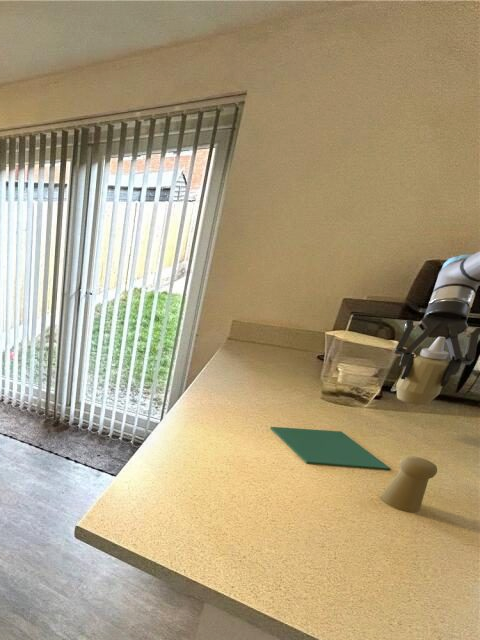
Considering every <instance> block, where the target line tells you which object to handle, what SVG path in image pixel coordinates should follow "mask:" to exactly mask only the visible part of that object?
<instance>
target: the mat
mask: <svg viewBox="0 0 480 640" xmlns="http://www.w3.org/2000/svg"><path fill="white" fill-rule="evenodd" d="M270 430H271V431H273V433H274V434H275V435H277V437H278V438H280V439H281V440H282V441H283V442H284V443H285V444H286V445H287V447H289V448H290V449H291V450H292V451H293V452H294V453H295V454H296V455H297V456H298V457H299V458H300V459H301V460H302V461H303V462H304V463H305V464H307V465H319V466H330V467H331V466H332V467H344V468H356V469H367V470H368V469H369V470H380V471H381V470H382V471H391V467H390V466H388V465H387V464H386V463H385V462H383V461H381V460H380V459H379V458H378V457H377V456H375V455H373V453H372V452H370V451H368V450H367V449H365V448H364V447H363V446H362V445H361V444H359V443H358V442H356V441H355V440H354V439H352V438H351V437H350V436H348V435H347V434H345V433H344V432H343V431H342V430H340V431H339V430H327V429H326V430H325V429H309V428H296V427H283V426H282V427H281V426H270Z"/></svg>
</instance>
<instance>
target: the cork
mask: <svg viewBox="0 0 480 640" xmlns="http://www.w3.org/2000/svg"><path fill="white" fill-rule="evenodd" d="M398 467H399V471H398V472H397V473H396V475H395V476H394V477H393V479H392V480H391V481H390V482H389V483H388V485H387V486H386V488H385V489H384V490H383V492H382V493H381V494H379V495H380V496H379V497H380V499H381V501H382V502H383V503H385V504H387V505H388V506H390V507H392V508H394V509H397V510H399V511H402V512H408V513H418V512H420V510H421V506H422V503H423V500H424V496H425V494H426V489H427V486H428V483H429V480H430V479H433V478H434V477H435V476H436V475H437V473H438V467H437V465H436V464H435V463H434V462H432V461H430V460H428V459H426V458H423V457H420V456H411V455H409V456H405V457H403V458H402V459H401V460H400V461H399V466H398Z"/></svg>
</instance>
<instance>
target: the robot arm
mask: <svg viewBox="0 0 480 640" xmlns="http://www.w3.org/2000/svg"><path fill="white" fill-rule="evenodd" d="M437 274H438V275H437V279H436V282H435V285H434V288H433V291H432V294H431V296H430V298H429V299H430V300H429V301H428V305H427V307H426V310H425V312H424V316H423V318H421V320H420V321H419V320H418V321H413V320H412V319H407V320H406V322H405V323H404V325H403V331H404V332H403V333H402V335H401V337H400V339H399V341H398V343H397V345H396V347H395V349H394V351H393V353H394V354H395V355H400V356H401V359H400V362H399V363H398V364H399V365H398V366H399V367H402V368H403V370H402V373H401V376H400V377H401V378H399V379H405V378H406V376H407V375H408V372H409V369H410V366H411V363H412V360H413V358H414V357H415V353H414V352H415V351H416V350H417V349H418V348H420V346H421V345H422V344H424V342H426V341H427V340H428V339H429V338H433V339H437V338H438V337H445V343H446V345H447V349H448V353H449V356H450V360H449V361H448V362H449V366H448V368H447V371H446V373H445V375H444V377H443V379H442V382H441V385H440V386H442V388H443V387H444V388H445V387H446V386H447V384H449V382H450V379H451V376H456V375H457V374H458V373H459V372H460V369H461V365H465V366H470V365H471V364H472V363H473V362H474V361H475V360H476V356H477V355H476V354H477V348H478V343H479V336H480V327H476V328H475V327H471V326H469V325H468V323H467V321H468V318H469V315H470V312H471V308H472V307H473V303H474V300H475V297H476V294H477V292H478V291H477V290H478V288H479V286H480V250H479V251H477V252H476V253H474V254H466V253H465V254H461V255H458V256H452V257H451V258H448V259H446V261H445V262H444V263H443V264H442V267H441V268H440V270H439V272H438V273H437ZM417 327H419V328H420V330H421V331H422V333H421V335H419V336H418V337H417V338H416V339H415V340H414V341H413V342H412V343H411V344H410V345H409V346H408V347H407V348H404V347H405V345H406V343H407V341H408V339H409V337H410V335H411V333H412V332H413V331H414V330H416V329H417ZM463 332H465V333H466V335H465V336H466V337H467V340H466V345H465V351H464V356H463V354H462V349H461V345H460V342H459V335H460V334H462V333H463Z"/></svg>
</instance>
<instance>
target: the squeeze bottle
mask: <svg viewBox="0 0 480 640" xmlns="http://www.w3.org/2000/svg"><path fill="white" fill-rule="evenodd" d="M445 343H446V341H445V337H438V338H435V340H434V341H433V342H432V344H431V345H430V346H429V347H425V348H422V349H421V350H420V353H419V355H416V356H415V355H414V358H413V360H412V363H411V366H410V369H409V372H408V375H407V376H406V378H405V379H400V378H401V376H400V378H399V379H398V381H397V382H396V398H397V399H398V400H399V401H402V402H404V403H408V404H411V405H412V404H413V405H421V406H426V405H429V403H431V402H432V401H433V400H434V399H436V398H437V397H438V396H439V395H440V394H441V391H442V389H443V386H440V385H441V382H442V379H443V377H444V375H445V373H446V371H447V368H448V366H449V362H450V361H448V360H446V359H447V358H448V356H449V355H450V353H449V351H446V350H444V349H445Z"/></svg>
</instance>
